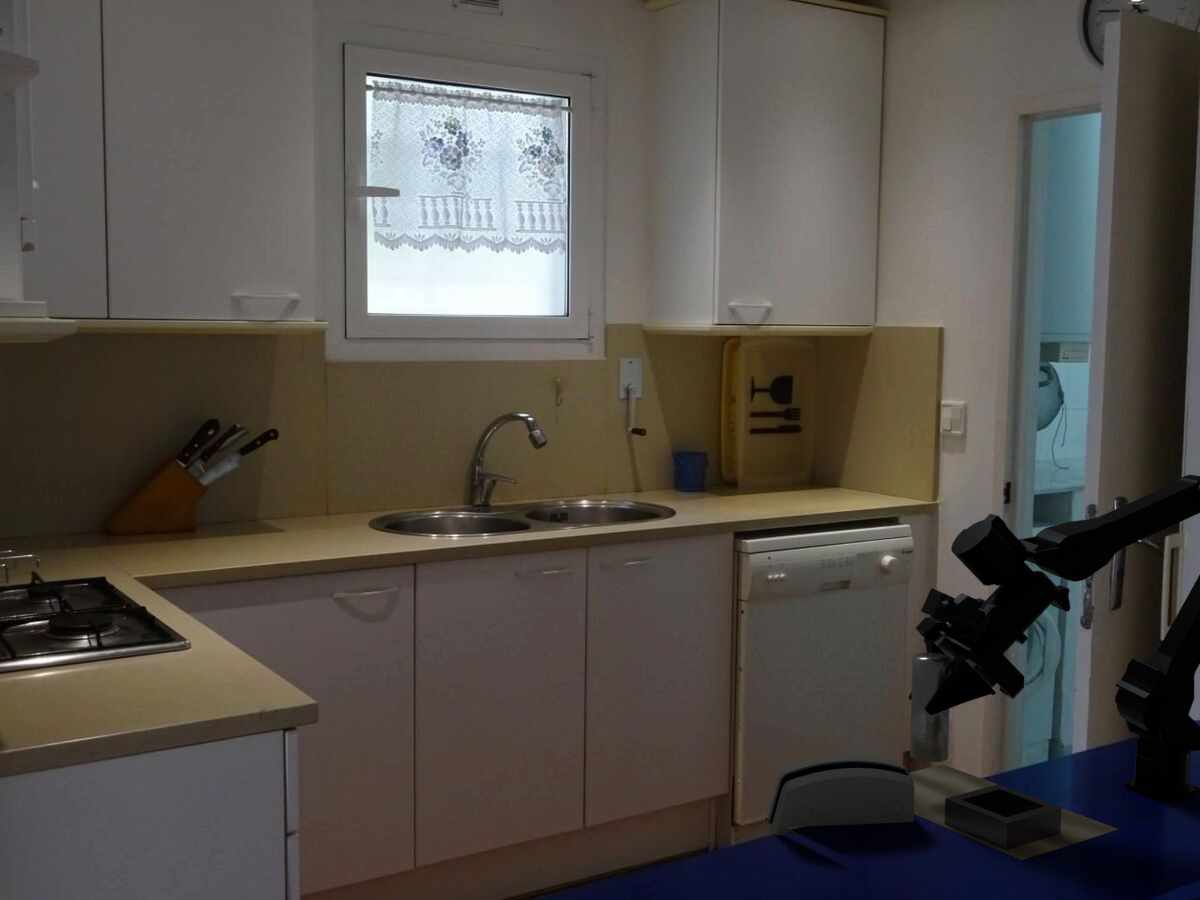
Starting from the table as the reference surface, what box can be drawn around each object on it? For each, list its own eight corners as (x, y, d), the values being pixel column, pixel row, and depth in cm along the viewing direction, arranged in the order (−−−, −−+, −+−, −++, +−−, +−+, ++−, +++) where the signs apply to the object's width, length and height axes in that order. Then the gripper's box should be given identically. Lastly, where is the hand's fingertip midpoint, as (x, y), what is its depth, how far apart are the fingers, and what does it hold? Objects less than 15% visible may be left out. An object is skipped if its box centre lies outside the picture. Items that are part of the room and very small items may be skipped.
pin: (928, 748, 163) (930, 651, 162) (956, 757, 159) (958, 658, 158) (902, 754, 161) (904, 655, 160) (929, 764, 157) (932, 663, 156)
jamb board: (942, 771, 172) (943, 764, 172) (1118, 838, 150) (1118, 829, 150) (850, 795, 163) (850, 787, 163) (1021, 868, 141) (1022, 859, 141)
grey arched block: (900, 814, 158) (912, 745, 153) (914, 842, 153) (926, 771, 149) (761, 820, 156) (769, 750, 151) (770, 849, 151) (779, 777, 147)
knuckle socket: (997, 809, 156) (998, 784, 156) (1060, 833, 149) (1061, 807, 148) (944, 824, 151) (945, 798, 151) (1006, 850, 144) (1007, 823, 144)
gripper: (932, 552, 168) (846, 642, 167) (1002, 581, 149) (905, 682, 149) (990, 612, 170) (905, 701, 169) (1065, 647, 151) (970, 748, 151)
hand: (919, 706), depth 159 cm, fingers closed on pin, 4 cm apart
